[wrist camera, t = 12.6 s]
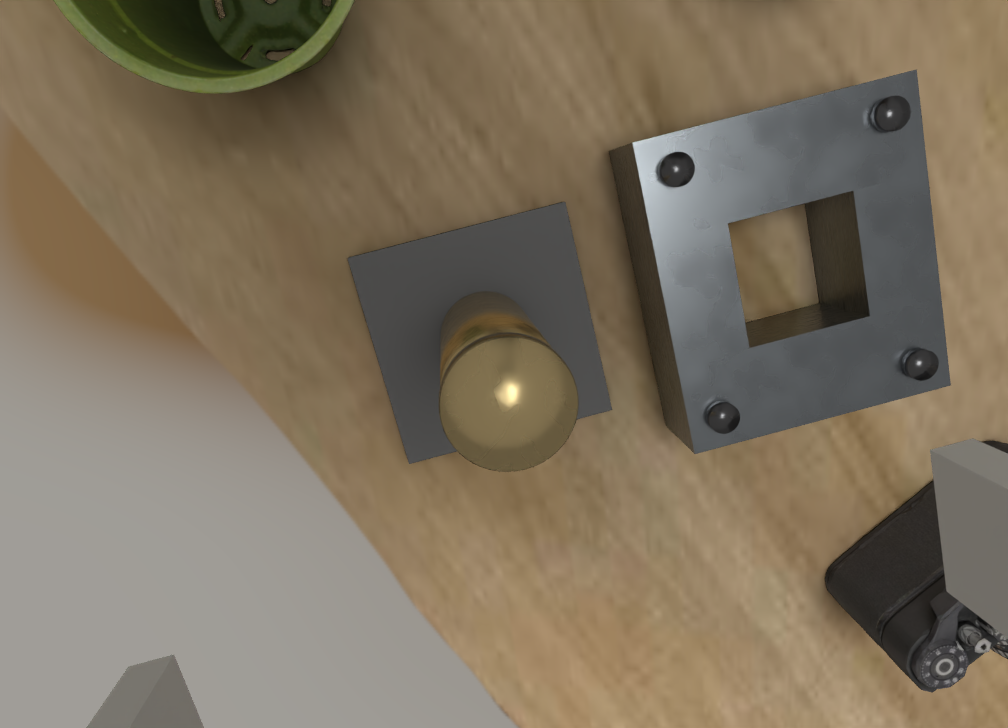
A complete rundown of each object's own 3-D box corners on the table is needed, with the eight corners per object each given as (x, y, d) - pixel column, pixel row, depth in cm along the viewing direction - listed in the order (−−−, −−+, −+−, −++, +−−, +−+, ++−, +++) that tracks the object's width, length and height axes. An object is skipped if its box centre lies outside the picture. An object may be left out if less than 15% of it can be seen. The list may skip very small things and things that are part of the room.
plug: (428, 303, 39) (422, 357, 25) (519, 279, 39) (561, 320, 25) (453, 391, 40) (459, 488, 26) (541, 368, 40) (592, 452, 26)
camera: (903, 676, 47) (1021, 797, 38) (806, 571, 45) (905, 671, 35) (1075, 534, 46) (1243, 622, 36) (984, 418, 44) (1138, 479, 34)
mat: (348, 257, 38) (347, 258, 38) (563, 201, 39) (565, 201, 38) (409, 460, 41) (409, 463, 41) (609, 406, 41) (612, 409, 41)
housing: (608, 150, 38) (635, 141, 33) (857, 86, 39) (924, 67, 33) (665, 425, 42) (698, 458, 36) (892, 365, 42) (958, 388, 37)
